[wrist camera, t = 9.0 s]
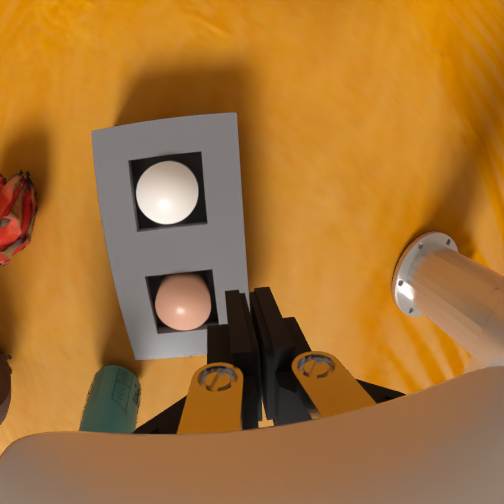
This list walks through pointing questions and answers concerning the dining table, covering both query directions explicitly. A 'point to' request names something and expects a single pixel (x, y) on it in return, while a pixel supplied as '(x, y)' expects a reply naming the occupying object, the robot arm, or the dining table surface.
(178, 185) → the white rounded piece
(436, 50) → the dining table surface
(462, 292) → the robot arm
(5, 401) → the alarm clock
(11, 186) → the dragon fruit
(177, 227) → the grey rectangular block
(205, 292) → the brown egg
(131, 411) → the beverage bottle
